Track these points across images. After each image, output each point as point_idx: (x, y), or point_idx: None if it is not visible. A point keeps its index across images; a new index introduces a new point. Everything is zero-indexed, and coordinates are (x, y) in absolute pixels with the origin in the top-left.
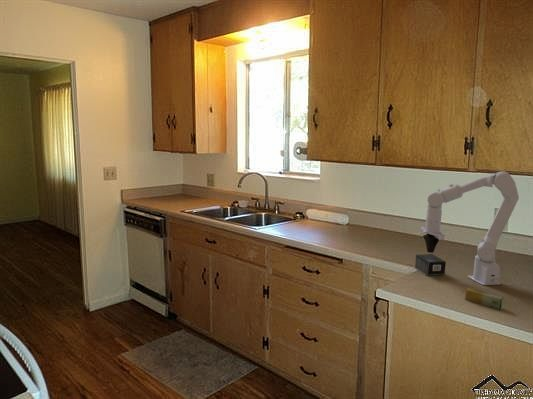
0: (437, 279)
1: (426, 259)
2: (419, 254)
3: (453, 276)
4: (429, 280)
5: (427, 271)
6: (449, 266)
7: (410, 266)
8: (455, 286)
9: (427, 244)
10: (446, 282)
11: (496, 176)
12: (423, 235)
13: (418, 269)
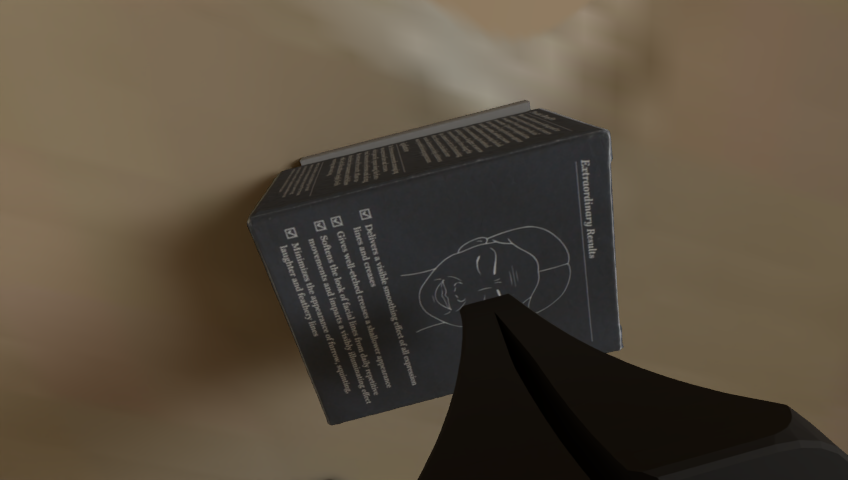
0: (206, 242)
1: (375, 222)
2: (606, 183)
3: None
4: (144, 153)
5: (277, 179)
6: None
7: (578, 66)
8: (56, 347)
9: (535, 364)
10: (143, 300)
11: None
12: (786, 442)
13: (450, 121)
